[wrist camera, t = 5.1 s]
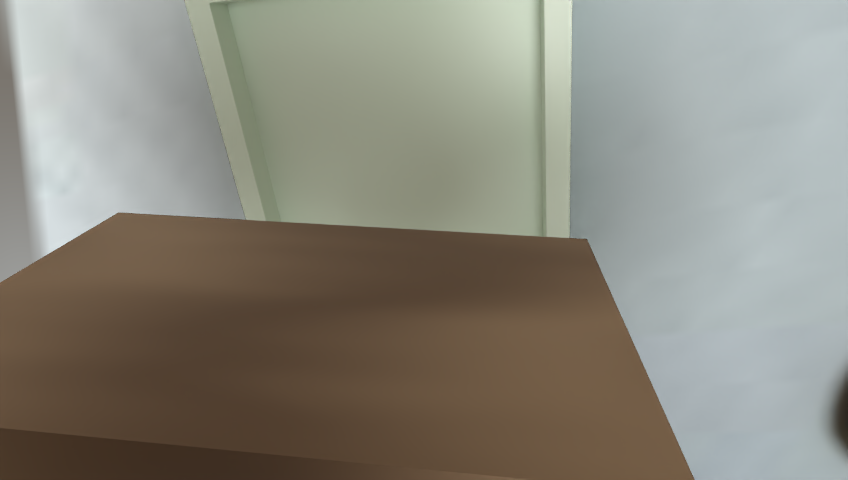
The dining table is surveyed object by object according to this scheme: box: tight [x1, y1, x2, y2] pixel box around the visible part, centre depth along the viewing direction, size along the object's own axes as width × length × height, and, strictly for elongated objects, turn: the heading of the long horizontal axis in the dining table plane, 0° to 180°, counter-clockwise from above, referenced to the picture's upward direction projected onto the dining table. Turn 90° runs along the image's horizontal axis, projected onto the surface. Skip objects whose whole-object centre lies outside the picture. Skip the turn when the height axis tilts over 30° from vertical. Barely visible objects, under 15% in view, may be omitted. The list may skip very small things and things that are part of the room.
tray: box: [184, 0, 572, 238], centre depth 18 cm, size 12×12×2 cm
